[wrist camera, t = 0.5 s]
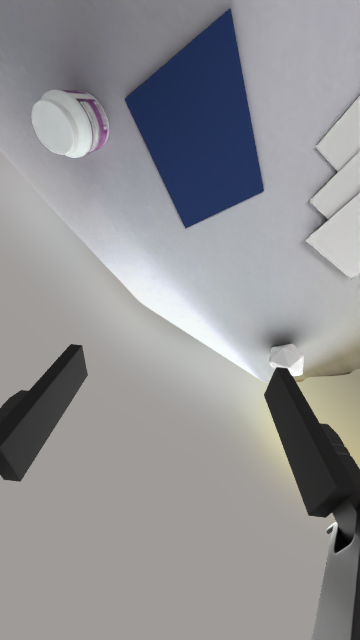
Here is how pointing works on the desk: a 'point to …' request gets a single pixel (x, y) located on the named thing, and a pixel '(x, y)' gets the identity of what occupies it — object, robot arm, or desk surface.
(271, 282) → the desk surface
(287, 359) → the die
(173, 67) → the cloth
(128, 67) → the desk surface
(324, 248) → the paper stack
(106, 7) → the desk surface
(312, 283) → the desk surface
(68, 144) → the pill bottle
